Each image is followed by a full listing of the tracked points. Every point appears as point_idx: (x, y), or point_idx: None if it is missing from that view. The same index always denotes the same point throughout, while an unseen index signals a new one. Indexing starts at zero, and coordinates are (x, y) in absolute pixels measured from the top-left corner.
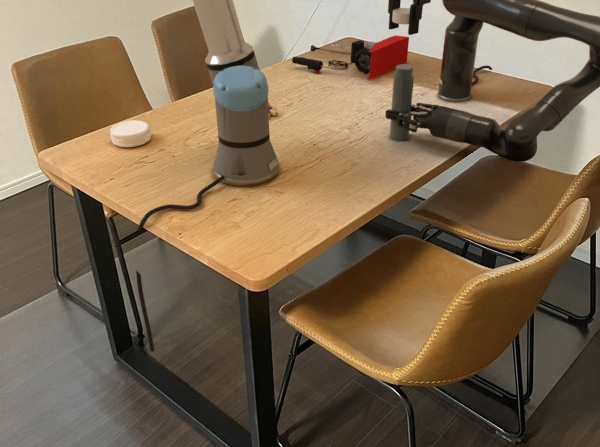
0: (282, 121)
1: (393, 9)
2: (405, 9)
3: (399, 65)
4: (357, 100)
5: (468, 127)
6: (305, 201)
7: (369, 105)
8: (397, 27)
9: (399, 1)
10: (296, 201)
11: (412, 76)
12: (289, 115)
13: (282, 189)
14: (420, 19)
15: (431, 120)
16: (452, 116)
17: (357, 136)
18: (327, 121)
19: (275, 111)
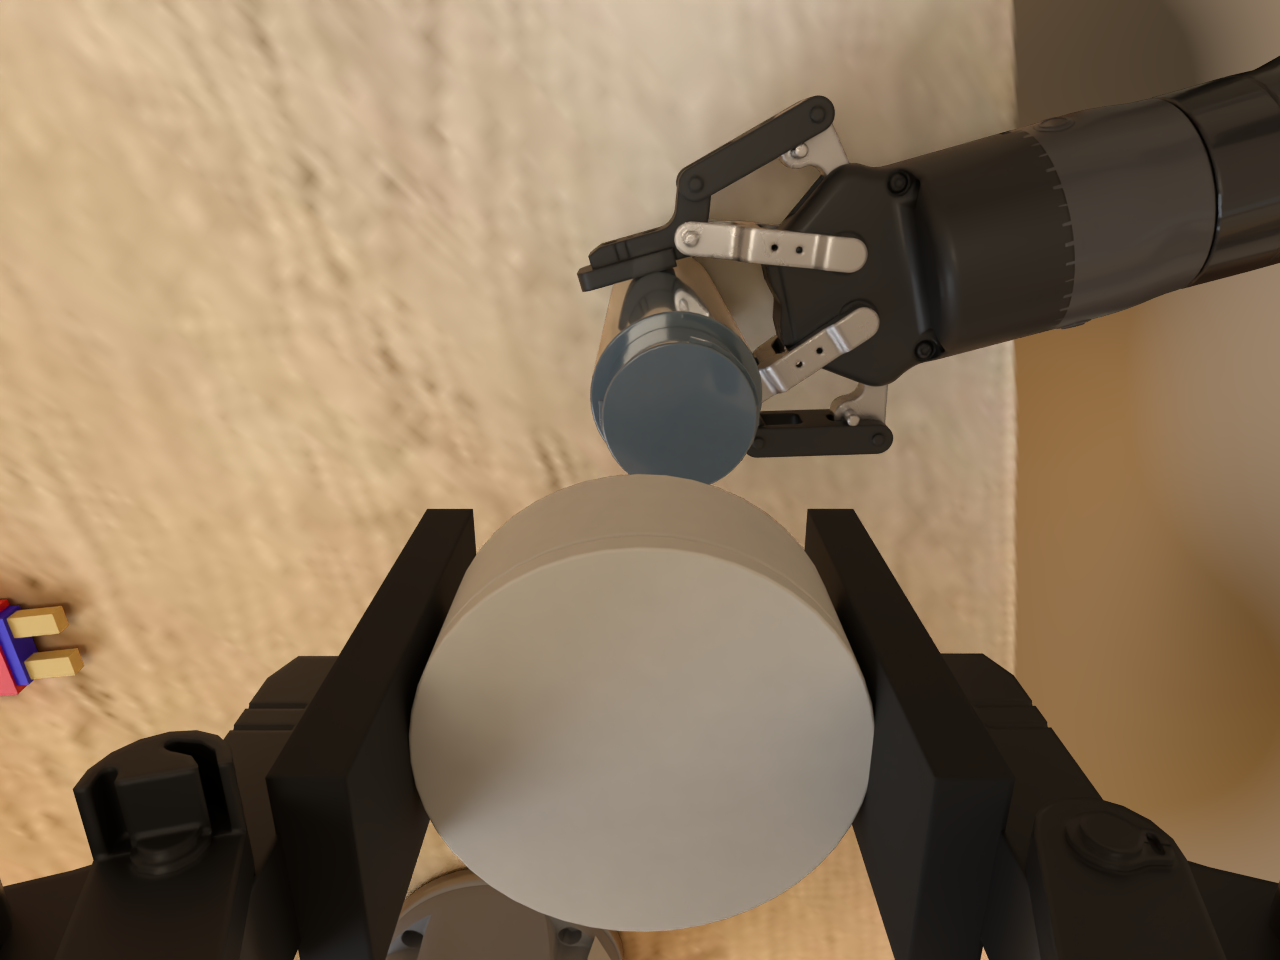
0: (144, 619)
1: (415, 817)
2: (570, 684)
3: (620, 423)
4: (63, 80)
5: (1197, 281)
6: (815, 933)
7: (183, 82)
8: (474, 535)
9: (363, 784)
10: (794, 951)
11: (747, 366)
12: (87, 551)
13: (698, 940)
14: (982, 662)
15: (944, 356)
16: (1087, 298)
17: (518, 465)
18: (266, 455)
19: (44, 619)
